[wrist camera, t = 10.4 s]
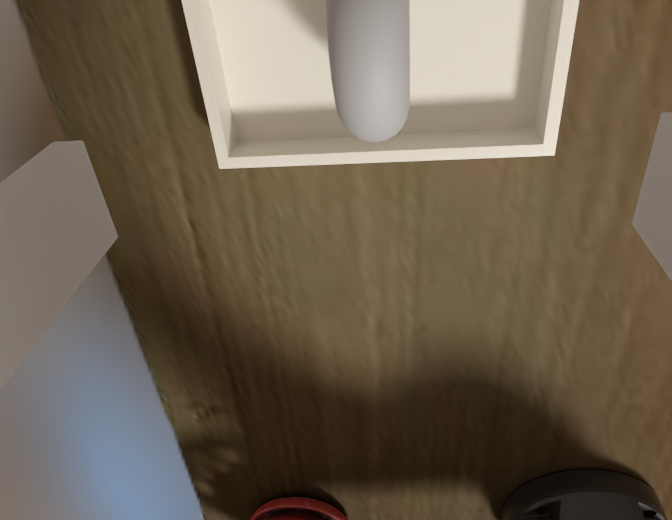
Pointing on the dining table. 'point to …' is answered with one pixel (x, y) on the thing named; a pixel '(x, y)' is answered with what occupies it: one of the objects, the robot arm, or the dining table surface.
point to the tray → (425, 81)
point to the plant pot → (297, 510)
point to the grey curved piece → (370, 65)
